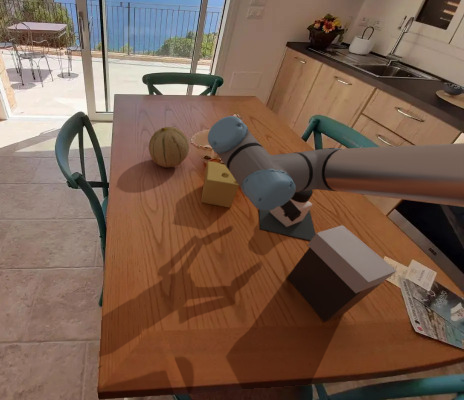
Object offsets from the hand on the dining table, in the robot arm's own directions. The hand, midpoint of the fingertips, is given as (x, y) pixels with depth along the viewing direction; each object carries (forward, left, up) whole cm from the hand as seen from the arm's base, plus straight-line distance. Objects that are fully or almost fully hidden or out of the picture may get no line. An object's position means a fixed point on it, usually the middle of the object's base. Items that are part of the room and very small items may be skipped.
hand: (278, 201), depth 76 cm
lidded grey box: (-22, -9, -9) cm, 26 cm away
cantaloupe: (+20, +36, -9) cm, 43 cm away
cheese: (+7, +16, -9) cm, 20 cm away
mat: (+4, -6, -9) cm, 11 cm away
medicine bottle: (+4, -6, -9) cm, 11 cm away
